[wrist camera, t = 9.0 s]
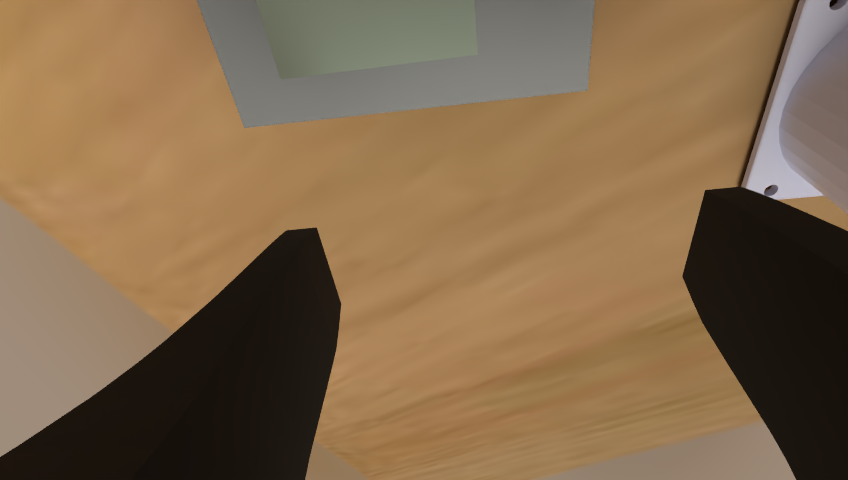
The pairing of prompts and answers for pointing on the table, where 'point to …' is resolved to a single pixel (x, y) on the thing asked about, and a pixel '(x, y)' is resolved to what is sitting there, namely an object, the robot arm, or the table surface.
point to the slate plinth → (409, 64)
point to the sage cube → (365, 33)
